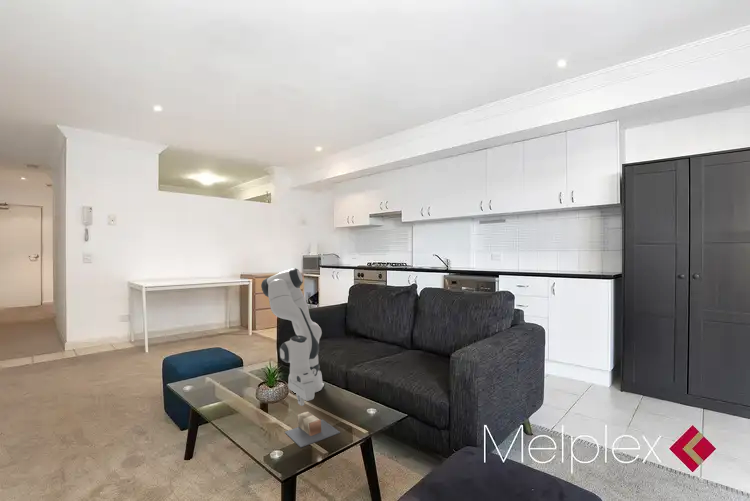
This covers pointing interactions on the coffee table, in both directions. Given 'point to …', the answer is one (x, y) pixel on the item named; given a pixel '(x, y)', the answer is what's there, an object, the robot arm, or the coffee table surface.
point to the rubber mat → (305, 439)
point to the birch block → (309, 423)
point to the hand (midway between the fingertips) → (301, 404)
